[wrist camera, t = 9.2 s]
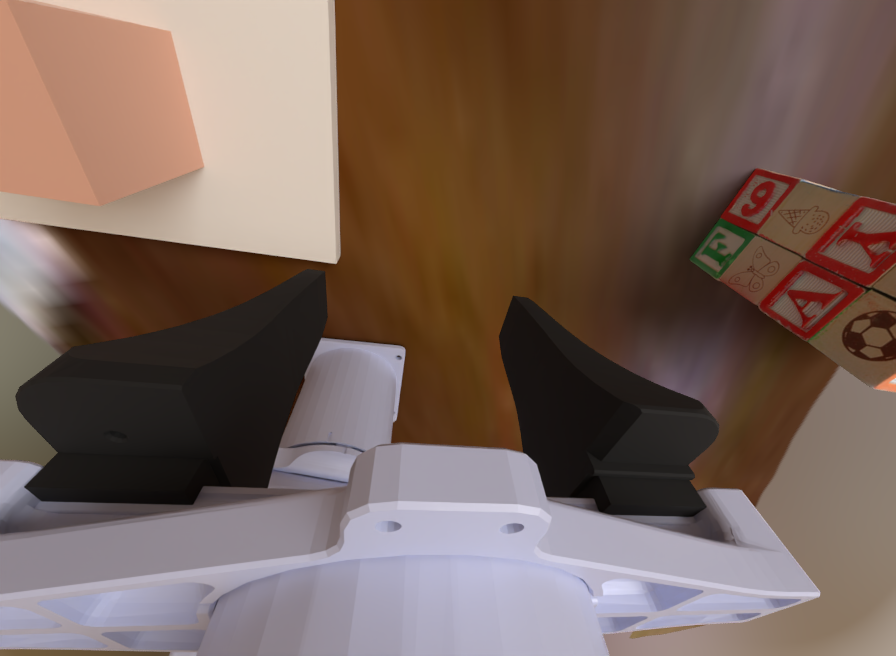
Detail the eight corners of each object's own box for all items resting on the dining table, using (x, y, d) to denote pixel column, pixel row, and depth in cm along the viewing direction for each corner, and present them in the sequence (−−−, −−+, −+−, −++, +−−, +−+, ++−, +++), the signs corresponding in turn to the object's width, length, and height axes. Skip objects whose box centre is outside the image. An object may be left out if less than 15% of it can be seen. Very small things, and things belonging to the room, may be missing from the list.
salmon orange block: (204, 166, 16) (100, 206, 11) (87, 146, 16) (-85, 179, 10) (170, 31, 13) (4, -3, 8) (22, -3, 13) (-268, -64, 7)
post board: (340, 255, 21) (311, 314, 16) (14, 210, 18) (-156, 262, 13) (332, -70, 13) (265, -181, 7) (-267, -241, 10) (-1056, -610, 5)
